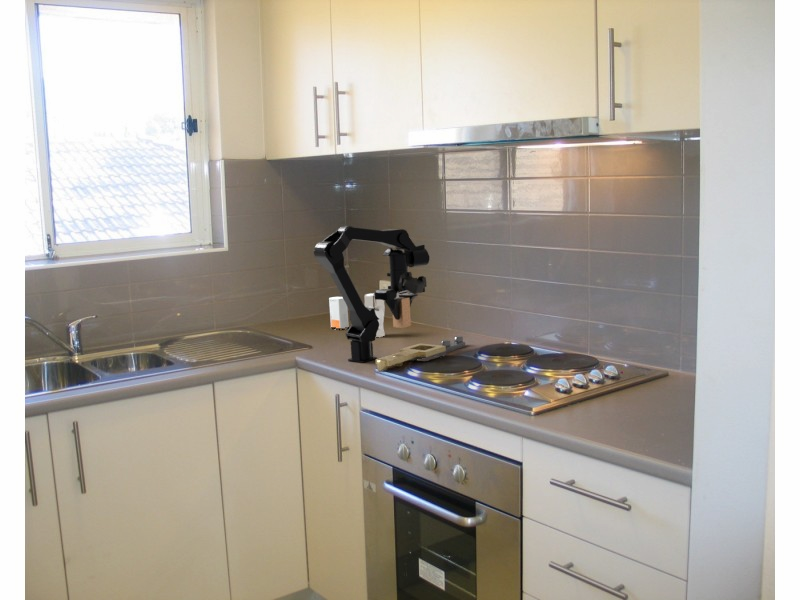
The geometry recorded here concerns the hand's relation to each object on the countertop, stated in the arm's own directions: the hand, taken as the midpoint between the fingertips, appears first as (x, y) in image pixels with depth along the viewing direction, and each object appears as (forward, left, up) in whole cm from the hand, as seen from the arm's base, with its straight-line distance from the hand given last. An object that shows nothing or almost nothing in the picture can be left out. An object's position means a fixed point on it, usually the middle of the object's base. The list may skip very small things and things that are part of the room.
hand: (401, 318), depth 256 cm
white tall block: (+17, +26, -11) cm, 33 cm away
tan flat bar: (-4, -11, -11) cm, 16 cm away
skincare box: (+23, +49, -11) cm, 55 cm away
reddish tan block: (0, 0, -3) cm, 3 cm away
